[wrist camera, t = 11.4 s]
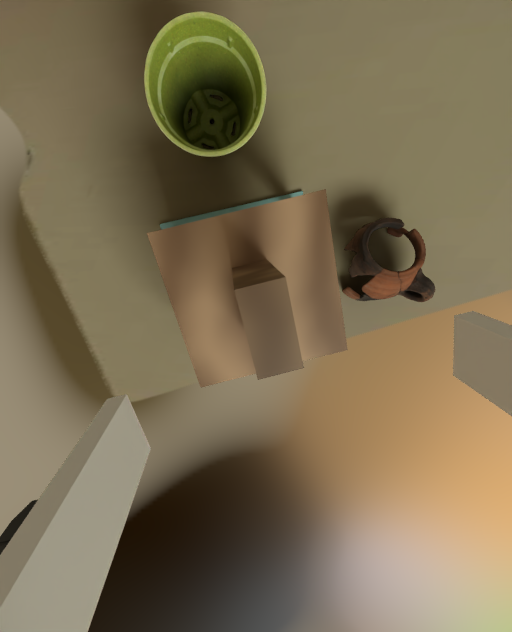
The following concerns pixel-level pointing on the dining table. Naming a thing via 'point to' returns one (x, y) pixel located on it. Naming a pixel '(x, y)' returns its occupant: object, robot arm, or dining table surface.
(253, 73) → the plant pot
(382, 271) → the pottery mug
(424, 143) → the dining table surface
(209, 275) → the brown piece
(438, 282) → the dining table surface
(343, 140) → the dining table surface
